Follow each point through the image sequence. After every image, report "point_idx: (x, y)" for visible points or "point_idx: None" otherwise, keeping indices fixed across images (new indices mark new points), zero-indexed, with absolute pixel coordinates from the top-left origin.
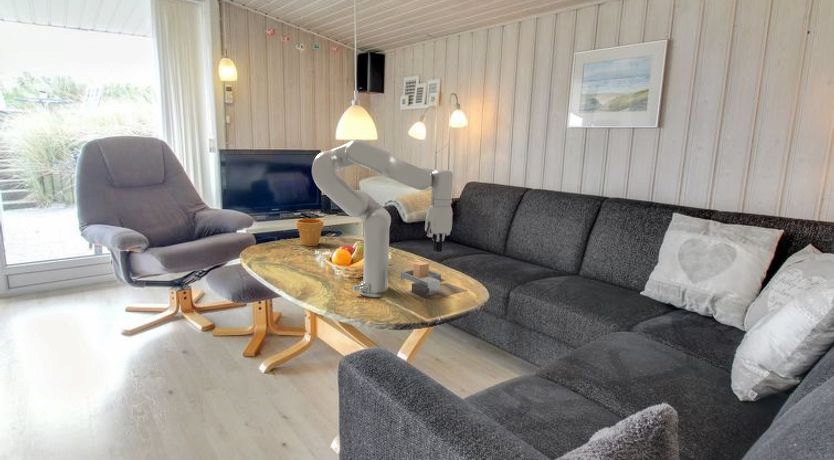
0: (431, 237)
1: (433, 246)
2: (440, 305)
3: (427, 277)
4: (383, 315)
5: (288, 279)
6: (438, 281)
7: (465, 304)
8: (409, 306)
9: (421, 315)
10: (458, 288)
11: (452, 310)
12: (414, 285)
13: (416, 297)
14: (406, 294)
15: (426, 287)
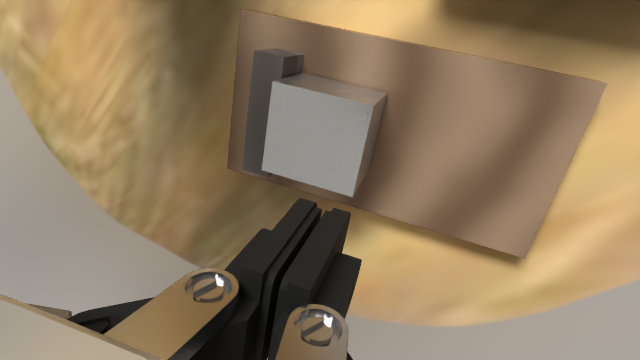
0: (113, 308)
1: (254, 237)
2: None
3: (345, 100)
4: (74, 119)
5: None
6: (341, 191)
7: (378, 292)
8: (192, 131)
9: (171, 217)
10: (528, 203)
11: None
12: (252, 77)
13: (244, 118)
14: (237, 51)
15: None
